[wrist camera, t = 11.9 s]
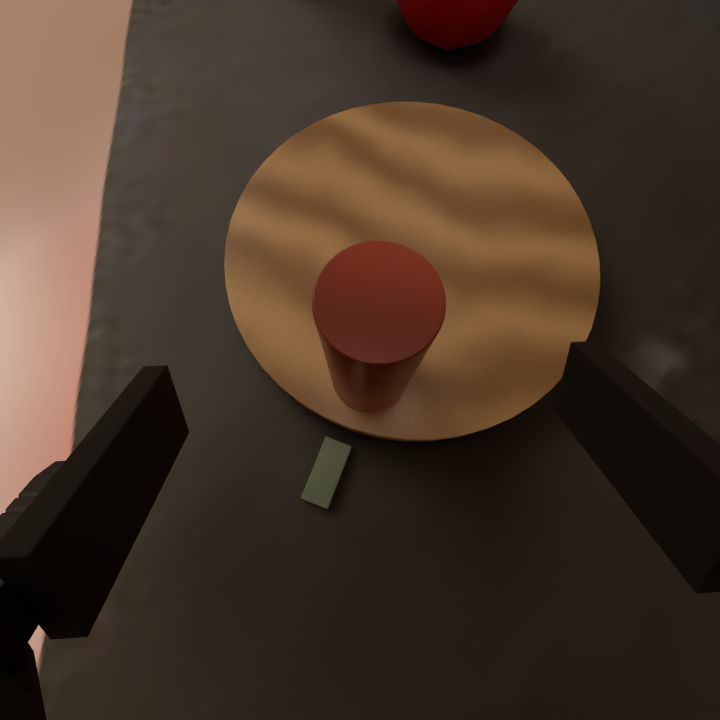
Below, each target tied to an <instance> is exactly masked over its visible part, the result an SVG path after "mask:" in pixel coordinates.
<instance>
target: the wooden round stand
mask: <svg viewBox="0 0 720 720" xmlns="http://www.w3.org/2000/svg"><path fill="white" fill-rule="evenodd" d="M224 266H225V284H226V289H227V294H228V299H229V304H230V308H231V311H232V313H233V316H234V319H235V322H236V325H237V328H238V330H239V332H240V333H241V335H242V337H243V339H244V341H245V343H246V345H247V347H248V349H249V350H250V352H251V353H252V354H253V356H254V357H255V358H256V360H257V361H258V363H259V364H260V365H261V367H262V368H263V369H264V371H265V372H266V373H267V374H268V375H269V376H270V377H271V378H272V379H273V380H274V381H275V382H276V383H277V384H278V385H279V386H280V387H281V388H282V389H283V390H284V391H285V392H286V393H287V394H288V395H289V396H291V397H292V398H293V399H295V400H296V401H297V402H298V403H300V404H301V405H302V406H303V407H305V408H306V409H308V410H310V411H311V412H313V413H315V414H317V415H318V416H320V417H322V418H323V419H325V420H327V421H329V422H331V423H334V424H336V425H338V426H341V427H343V428H346V429H348V430H350V431H354V432H357V433H361V434H365V435H368V436H372V437H376V438H382V439H389V440H397V441H436V440H443V439H451V438H457V437H460V436H464V435H468V434H471V433H475V432H478V431H482V430H485V429H488V428H490V427H493V426H495V425H497V424H499V423H502V422H504V421H506V420H509V419H511V418H513V417H514V416H516V415H518V414H519V413H521V412H522V411H524V410H526V409H527V408H529V407H530V406H532V405H534V404H535V403H536V402H537V401H538V400H540V399H541V398H542V397H543V396H544V395H546V394H547V393H548V392H549V391H550V390H551V389H553V388H554V386H555V385H556V384H557V383H558V382H559V381H560V380H561V379H562V376H563V372H564V368H565V364H566V360H567V356H568V352H569V348H570V344H571V342H581V341H586V340H587V338H588V335H589V333H590V331H591V329H592V325H593V322H594V318H595V314H596V311H597V307H598V300H599V291H600V260H599V255H598V249H597V243H596V238H595V235H594V232H593V229H592V226H591V223H590V220H589V217H588V215H587V213H586V211H585V209H584V207H583V205H582V203H581V201H580V199H579V197H578V196H577V194H576V193H575V191H574V190H573V188H572V186H571V185H570V183H569V182H568V180H567V179H566V178H565V177H564V176H563V174H562V173H561V172H560V171H559V170H558V168H557V167H556V166H555V165H554V164H553V163H552V162H551V161H550V160H549V159H548V158H547V157H546V156H545V155H544V154H543V153H542V152H540V151H539V150H538V149H537V148H536V147H535V146H533V145H532V144H530V143H529V142H528V141H526V140H525V139H524V138H522V137H521V136H520V135H518V134H516V133H515V132H513V131H511V130H509V129H508V128H506V127H504V126H503V125H501V124H499V123H496V122H494V121H492V120H490V119H487V118H485V117H483V116H481V115H478V114H475V113H471V112H468V111H465V110H462V109H459V108H454V107H449V106H445V105H440V104H432V103H423V102H388V103H378V104H371V105H366V106H362V107H357V108H352V109H349V110H346V111H343V112H340V113H337V114H334V115H331V116H329V117H327V118H325V119H322V120H320V121H318V122H316V123H314V124H312V125H310V126H309V127H307V128H305V129H304V130H302V131H300V132H299V133H297V134H295V135H294V136H293V137H291V138H290V139H289V140H287V141H286V142H285V143H284V144H282V145H281V146H280V147H278V148H277V149H276V150H275V151H274V152H273V153H272V154H271V155H270V156H269V157H268V158H267V159H266V160H265V161H264V162H263V164H262V165H261V166H260V168H259V169H258V170H257V171H256V173H255V174H254V175H253V177H252V178H251V179H250V181H249V183H248V184H247V186H246V188H245V190H244V191H243V193H242V195H241V196H240V198H239V201H238V203H237V206H236V208H235V211H234V213H233V216H232V218H231V222H230V226H229V231H228V235H227V239H226V248H225V259H224Z"/></svg>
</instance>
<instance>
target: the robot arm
mask: <svg viewBox="0 0 720 720" xmlns="http://www.w3.org/2000/svg"><path fill="white" fill-rule="evenodd" d="M554 410H555V412H556V413H557V414H558V416H559V417H560V418H561V419H562V421H563V422H564V423H565V425H566V426H567V427H568V428H569V430H570V431H571V432H572V434H573V435H574V436H575V438H576V439H577V440H578V441H579V443H580V444H581V445H582V447H583V448H584V449H585V450H586V452H587V453H588V454H589V456H590V457H591V458H592V460H593V461H594V462H595V463H596V465H597V466H598V467H599V469H600V470H601V471H602V472H603V474H604V475H605V476H606V478H607V479H608V480H609V482H610V483H611V484H612V485H613V487H614V488H615V489H616V491H617V492H618V493H619V494H620V496H621V497H622V498H623V500H624V501H625V502H626V504H627V505H628V506H629V507H630V509H631V510H632V511H633V513H634V514H635V515H636V516H637V518H638V519H639V520H640V522H641V523H642V524H643V525H644V527H645V528H646V529H647V531H648V532H649V533H650V535H651V536H652V537H653V538H654V540H655V541H656V542H657V544H658V545H659V546H660V547H661V549H662V550H663V551H664V553H665V554H666V555H667V557H668V558H669V559H670V560H671V562H672V563H673V564H674V566H675V567H676V568H677V569H678V571H679V572H680V573H681V575H682V576H683V577H684V579H685V580H686V581H687V582H688V584H689V585H690V586H691V588H692V589H693V590H694V591H695V593H708V592H720V432H719V431H717V430H715V429H713V428H711V427H710V426H708V425H706V424H704V423H702V422H700V421H698V420H693V421H691V420H690V419H689V418H687V417H686V416H685V415H684V414H683V413H681V412H680V411H679V410H678V409H676V408H675V407H674V406H673V405H672V404H670V403H669V402H668V401H667V400H666V399H664V398H663V397H662V396H661V395H659V394H658V393H657V392H656V391H655V390H653V389H652V388H651V387H650V386H648V385H647V384H646V383H645V382H644V381H642V380H641V379H640V378H639V377H638V376H636V375H635V374H634V373H633V372H631V371H630V370H629V369H628V368H627V367H625V366H624V365H623V364H622V363H620V362H619V361H618V360H617V359H616V358H614V357H613V356H612V355H611V354H610V353H608V352H607V351H606V350H605V349H603V348H602V347H601V346H600V345H599V344H597V343H596V342H595V341H581V342H571V344H570V348H569V352H568V356H567V360H566V364H565V368H564V372H563V376H562V380H561V384H560V388H559V392H558V396H557V400H556V404H555V408H554ZM188 433H189V430H188V427H187V424H186V421H185V418H184V415H183V412H182V409H181V406H180V403H179V399H178V396H177V393H176V390H175V387H174V384H173V381H172V378H171V375H170V372H169V369H168V366H167V365H166V366H149V367H143V368H142V369H141V370H140V371H139V373H138V374H137V375H136V376H135V377H134V379H133V380H132V381H131V382H130V384H129V385H128V386H127V387H126V388H125V390H124V391H123V392H122V393H121V394H120V396H119V397H118V398H117V399H116V400H115V402H114V403H113V404H112V405H111V406H110V408H109V409H108V410H107V411H106V413H105V414H104V415H103V416H102V417H101V419H100V420H99V421H98V422H97V423H96V425H95V426H94V427H93V428H92V429H91V431H90V432H89V433H88V434H87V435H86V437H85V438H84V439H83V440H82V442H81V443H80V444H79V445H78V446H77V448H76V449H75V450H74V451H73V452H72V454H71V455H70V456H69V457H68V458H67V460H66V461H57V462H54V463H53V464H51V465H50V466H49V467H47V468H46V469H45V470H43V471H42V472H40V473H39V474H38V475H36V476H35V477H34V478H33V479H32V480H31V481H30V482H29V483H28V485H27V486H26V487H25V488H24V489H23V491H21V493H20V494H19V497H18V498H15V499H14V500H13V502H12V503H11V504H10V505H9V506H8V507H7V509H6V512H5V513H2V514H1V515H0V720H46V715H45V710H44V704H43V699H42V693H41V688H40V683H39V677H38V672H37V667H36V661H35V656H34V652H33V650H32V648H31V647H30V645H29V644H28V641H29V640H30V638H31V636H32V635H33V633H34V631H35V630H36V628H37V626H38V625H40V627H41V628H42V629H43V630H44V632H45V633H46V634H47V635H48V637H49V638H50V639H64V638H78V637H88V635H89V633H90V631H91V629H92V627H93V625H94V623H95V621H96V619H97V617H98V615H99V613H100V611H101V609H102V607H103V605H104V603H105V601H106V599H107V597H108V595H109V593H110V591H111V589H112V587H113V585H114V583H115V581H116V579H117V576H118V574H119V572H120V570H121V568H122V566H123V564H124V562H125V560H126V558H127V556H128V554H129V552H130V550H131V548H132V546H133V544H134V542H135V540H136V538H137V536H138V534H139V532H140V530H141V528H142V526H143V524H144V522H145V520H146V518H147V516H148V514H149V512H150V510H151V508H152V506H153V504H154V502H155V500H156V498H157V496H158V494H159V492H160V490H161V488H162V486H163V484H164V482H165V480H166V478H167V476H168V474H169V472H170V470H171V468H172V466H173V464H174V462H175V460H176V458H177V456H178V453H179V451H180V449H181V447H182V445H183V443H184V441H185V439H186V437H187V435H188Z"/></svg>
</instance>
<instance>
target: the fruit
mask: <svg viewBox="0 0 720 720" xmlns="http://www.w3.org/2000/svg"><path fill="white" fill-rule="evenodd" d="M397 1H398V4H399V7H400V9H401V12H402V14H403V16H404V18H405V21H406V23H407V25H408V26H409V28H410V29H411V31H412V32H413V33H414V34H415V35H416V36H417V37H419V38H420V39H422V40H423V41H425V42H427V43H430V44H432V45H435V46H437V47H440V48H442V49H445V50H451V49H458V48H462V47H466V46H470V45H473V44H476V43H479V42H481V41H483V40H485V39H486V38H488V37H489V36H490V35H491V34H493V33H494V32H495V31H496V29H497V28H498V27H499V26H500V25H501V24H502V23H503V21H504V20H505V18H506V17H507V16H508V14H509V13H510V11H511V10H512V8H513V7H514V5H515V4H516V3H517V1H518V0H397Z"/></svg>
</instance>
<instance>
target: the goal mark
mask: <svg viewBox="0 0 720 720" xmlns="http://www.w3.org/2000/svg"><path fill="white" fill-rule="evenodd" d="M351 449H352V446H350V445H348V444H345V443H343V442H340V441H338V440H335V439H333V438H330V437H327V436H326V437H325V439H324V442H323V444H322V447H321V449H320V452H319V454H318V457H317V459H316V462H315V464H314V467H313V469H312V471H311V474H310V476H309V479H308V481H307V484H306V486H305V489H304V491H303V494H302V496H301V499H303V500H306V501H308V502H311V503H313V504H315V505H318V506H320V507H323V508H325V509H328V508H329V506H330V503H331V501H332V498H333V495H334V493H335V490H336V488H337V485H338V482H339V480H340V477H341V475H342V472H343V469H344V467H345V464H346V462H347V459H348V456H349V454H350V451H351Z"/></svg>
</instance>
